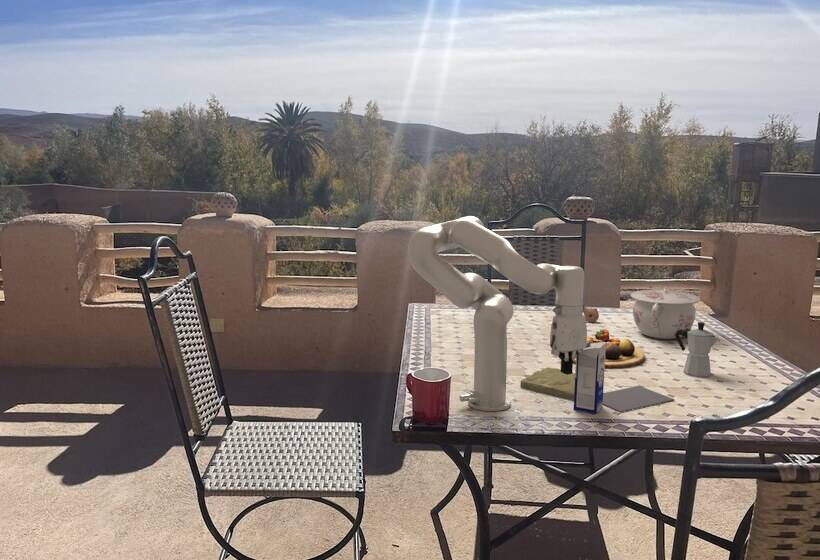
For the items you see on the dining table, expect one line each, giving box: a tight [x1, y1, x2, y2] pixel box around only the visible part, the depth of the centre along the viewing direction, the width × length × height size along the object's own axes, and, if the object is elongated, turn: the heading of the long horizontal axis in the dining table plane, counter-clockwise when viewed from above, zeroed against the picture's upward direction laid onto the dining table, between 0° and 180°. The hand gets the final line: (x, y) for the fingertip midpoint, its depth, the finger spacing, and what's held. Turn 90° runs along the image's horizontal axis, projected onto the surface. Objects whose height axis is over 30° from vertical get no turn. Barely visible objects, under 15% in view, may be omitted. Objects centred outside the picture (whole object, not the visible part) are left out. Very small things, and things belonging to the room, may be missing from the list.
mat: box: [602, 385, 675, 413], centre depth 205 cm, size 22×14×1 cm, turn 118°
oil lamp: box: [583, 304, 600, 324], centre depth 302 cm, size 9×4×8 cm, turn 75°
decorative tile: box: [520, 367, 575, 401], centre depth 216 cm, size 19×20×4 cm
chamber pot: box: [629, 286, 701, 341], centre depth 278 cm, size 28×28×21 cm
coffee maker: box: [675, 321, 720, 378], centre depth 229 cm, size 15×9×18 cm, turn 45°
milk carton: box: [573, 342, 606, 415], centre depth 195 cm, size 7×7×20 cm
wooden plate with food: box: [573, 328, 646, 369], centre depth 250 cm, size 32×32×8 cm
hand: (566, 372), depth 191 cm, fingers closed
